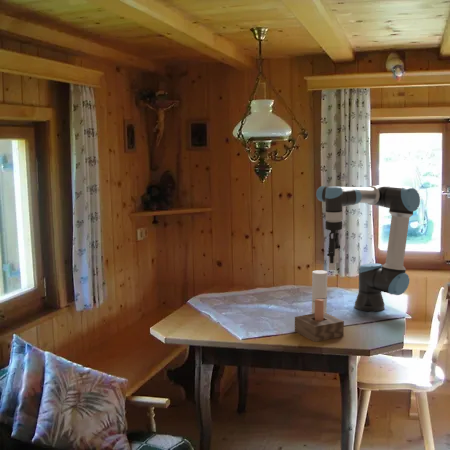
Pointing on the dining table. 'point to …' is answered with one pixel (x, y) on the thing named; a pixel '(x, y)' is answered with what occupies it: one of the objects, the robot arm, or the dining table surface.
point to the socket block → (319, 327)
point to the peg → (319, 309)
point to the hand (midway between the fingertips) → (333, 266)
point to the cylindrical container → (319, 288)
